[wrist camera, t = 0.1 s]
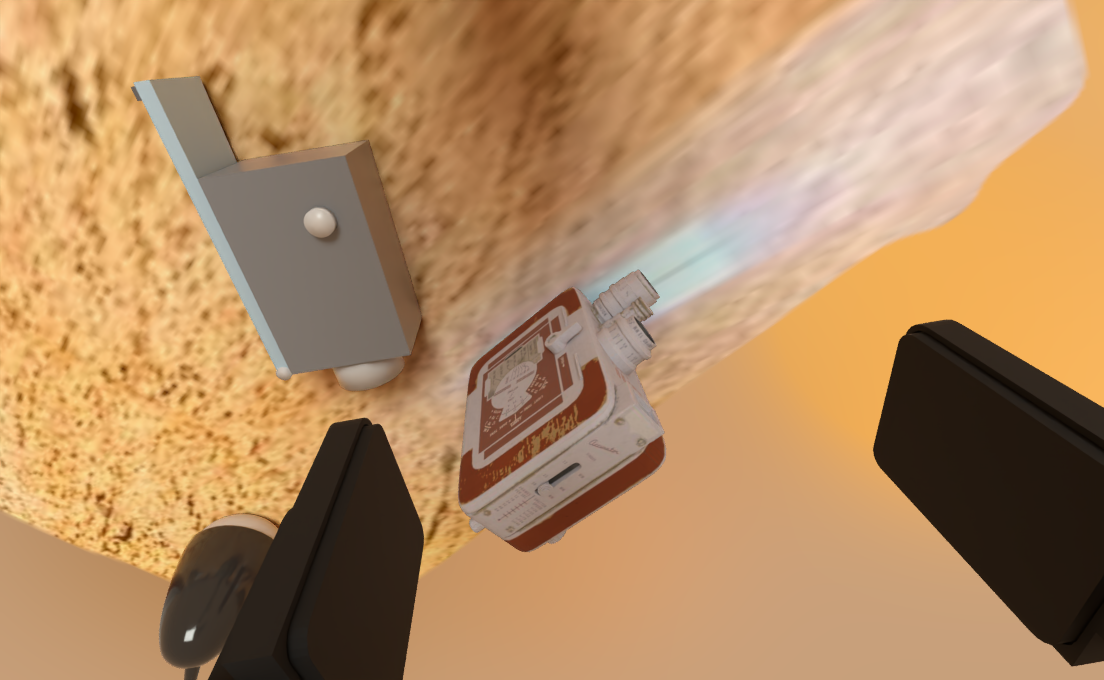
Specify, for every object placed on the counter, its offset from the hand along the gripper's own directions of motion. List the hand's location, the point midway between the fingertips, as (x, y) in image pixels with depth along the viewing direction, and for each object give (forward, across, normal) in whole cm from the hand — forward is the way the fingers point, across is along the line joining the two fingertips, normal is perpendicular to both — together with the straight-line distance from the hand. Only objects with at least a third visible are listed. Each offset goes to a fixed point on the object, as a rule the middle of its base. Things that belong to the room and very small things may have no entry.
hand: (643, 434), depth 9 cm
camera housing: (+37, +18, +8) cm, 42 cm away
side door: (+36, +24, +3) cm, 44 cm away
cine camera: (+37, 0, +18) cm, 41 cm away
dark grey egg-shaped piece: (+37, +40, +38) cm, 66 cm away
